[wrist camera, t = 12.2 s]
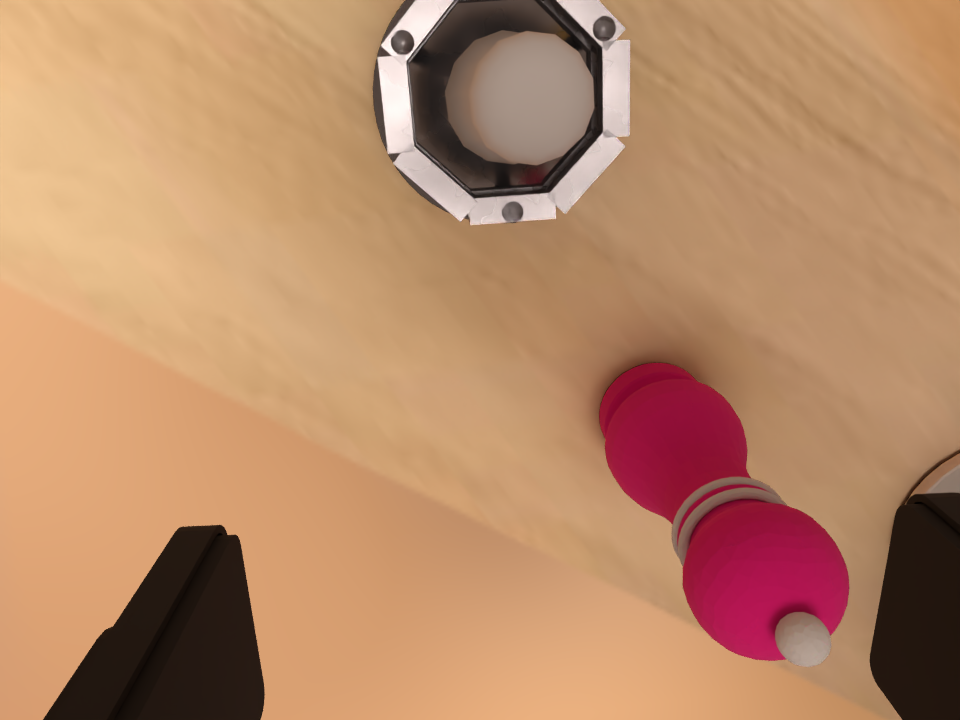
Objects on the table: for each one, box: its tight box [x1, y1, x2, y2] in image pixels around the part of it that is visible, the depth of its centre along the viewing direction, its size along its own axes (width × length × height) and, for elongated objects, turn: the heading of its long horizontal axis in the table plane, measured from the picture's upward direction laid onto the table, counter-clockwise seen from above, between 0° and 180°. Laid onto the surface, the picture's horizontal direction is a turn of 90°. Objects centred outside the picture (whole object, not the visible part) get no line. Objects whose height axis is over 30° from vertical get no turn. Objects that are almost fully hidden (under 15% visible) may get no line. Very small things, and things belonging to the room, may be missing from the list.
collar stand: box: [373, 0, 630, 225], centre depth 34 cm, size 12×12×5 cm
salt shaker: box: [445, 30, 594, 165], centre depth 30 cm, size 6×6×13 cm
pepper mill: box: [599, 363, 849, 667], centre depth 34 cm, size 7×7×20 cm
